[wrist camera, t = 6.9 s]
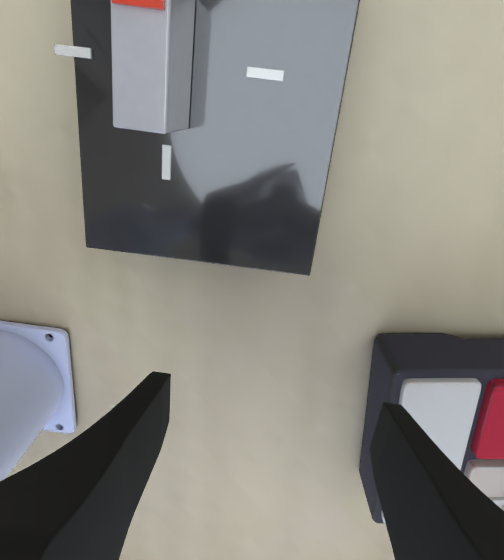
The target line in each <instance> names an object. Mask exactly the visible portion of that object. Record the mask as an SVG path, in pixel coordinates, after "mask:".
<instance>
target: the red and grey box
mask: <svg viewBox="0 0 504 560" xmlns="http://www.w3.org/2000/svg"><path fill="white" fill-rule="evenodd" d="M383 402H386V403H394V404H401V405H402V406H403V407H404V408H405V409H406V410H407V411H408V413H409V414H410V415H411V416H412V417H413V418H414V420H415V421H416V422H417V423H418V424H419V426H420V427H421V428H422V429H423V430H424V431H425V432H426V434H427V435H428V436H429V437H430V438H431V439H432V441H433V442H434V443H435V444H436V445H437V446H438V447H439V448H440V450H441V451H442V452H443V453H444V454H445V455H446V456H447V457H448V458H449V459H450V460H451V461H452V462H453V464H454V465H455V466H456V467H457V468H458V469H459V470H460V471H461V472H462V473H463V474H464V475H465V476H466V477H467V478H468V479H469V480H470V481H471V482H472V483H473V484H474V485H475V486H476V487H478V488H479V489H480V490H481V491H482V492H483V493H484V494H485V495H486V496H487V497H488V498H490V499H491V500H492V501H493V502H494V503H495V504H496V505H497V506H499V507H500V508H501V509H502V510H503V511H504V338H498V339H463V338H459V337H455V336H451V335H447V334H442V333H413V334H380V335H378V336H377V337H376V338H375V341H374V348H373V357H372V366H371V374H370V383H369V391H368V400H367V409H366V417H365V426H364V434H363V443H362V452H361V460H360V469H359V471H360V476H361V479H362V483H363V487H364V490H365V494H366V498H367V501H368V505H369V509H370V512H371V515H372V519H373V520H374V521H375V522H377V523H385V519H384V515H383V512H382V508H381V505H380V501H379V497H378V493H377V490H376V486H375V482H374V478H373V472H372V465H371V458H370V450H369V447H370V443H371V440H372V437H373V433H374V430H375V427H376V424H377V420H378V417H379V414H380V410H381V407H382V404H383ZM385 524H386V523H385Z"/></svg>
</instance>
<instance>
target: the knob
mask: <svg viewBox="0 0 504 560" xmlns="http://www.w3.org/2000/svg"><path fill="white" fill-rule="evenodd" d="M194 14H195V0H111V45H112V96H113V126H114V127H116V128H122V129H130V130H137V131H144V132H152V133H159V134H167V133H172V132H177V131H182V130H186V129H188V128H189V110H190V91H191V72H192V52H193V33H194Z"/></svg>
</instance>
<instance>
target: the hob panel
mask: <svg viewBox="0 0 504 560" xmlns="http://www.w3.org/2000/svg"><path fill="white" fill-rule="evenodd" d="M359 3H360V0H195V14H194V33H193V52H192V72H191V91H190V110H189V128H188V129H186V130H182V131H177V132H172V133H167V134H159V133H152V132H144V131H137V130H130V129H122V128H116V127H114V126H113V96H112V45H111V0H71V14H72V30H73V46H69V45H60V44H54V46H55V55H61V56H70V57H74V61H75V77H76V93H77V109H78V125H79V141H80V156H81V172H82V188H83V204H84V220H85V236H86V247H89V248H97V249H105V250H113V251H121V252H128V253H136V254H144V255H152V256H160V257H167V258H175V259H183V260H191V261H199V262H207V263H214V264H222V265H230V266H238V267H246V268H253V269H261V270H269V271H277V272H285V273H293V274H300V275H308V276H309V275H310V272H311V266H312V261H313V255H314V250H315V244H316V239H317V233H318V228H319V222H320V217H321V211H322V206H323V200H324V195H325V189H326V184H327V178H328V173H329V167H330V162H331V157H332V151H333V146H334V140H335V135H336V129H337V124H338V118H339V113H340V107H341V102H342V96H343V91H344V85H345V80H346V74H347V69H348V63H349V58H350V52H351V47H352V41H353V36H354V30H355V25H356V19H357V14H358V8H359Z"/></svg>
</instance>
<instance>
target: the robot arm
mask: <svg viewBox="0 0 504 560" xmlns="http://www.w3.org/2000/svg"><path fill="white" fill-rule="evenodd" d="M49 334H51V335H52V336H53V338H52V337H50V336H49ZM170 378H171V374H168V373H160V372H152V373H150V374H149V375H148V376H147V377H146V378H145V379H144V380H143V381H142V382H141V383H140V384H139V385H138V386H137V387H136V388H135V389H134V390H133V391H132V392H131V393H129V394H128V395H127V396H126V397H125V398H124V399H123V400H122V401H121V402H120V403H118V404H117V405H116V406H115V407H114V408H113V409H112V410H111V411H109V412H108V413H107V414H106V415H105V416H103V417H102V418H101V419H100V420H98V421H97V422H96V423H95V424H93V425H92V426H91V427H90V428H88V429H87V430H86V431H84V432H83V433H82V434H80V435H79V436H77V437H76V438H75V439H73V440H72V441H70V442H69V443H67V444H66V445H64V446H63V447H61V448H60V449H58V450H56V451H55V452H53V453H52V454H50V455H48V456H46V457H45V458H43V459H41V460H40V461H38V462H36V463H35V464H33V465H31V466H29V467H27V468H25V469H24V470H22V471H20V472H18V473H16V474H14V475H12V476H10V477H8V478H6V477H7V476H8V475H9V473H10V472H11V471H12V469H13V468H14V467H15V465H16V464H17V463H18V461H19V460H20V459H21V457H22V456H23V455H24V453H25V452H26V451H27V449H28V448H29V447H30V445H31V444H32V443H33V441H34V440H35V439H36V437H37V436H38V435H39V433H40V432H41V431H42V430H47V431H54V432H61V433H73V432H74V430H75V429H76V427H77V423H76V412H75V401H74V390H73V379H72V368H71V357H70V346H69V336H68V334H67V332H66V331H64V330H63V329H60V328H52V327H44V326H37V325H29V324H22V323H14V322H7V321H0V560H119V557H120V554H121V550H122V547H123V544H124V541H125V538H126V535H127V532H128V528H129V526H130V523H131V520H132V518H133V515H134V512H135V510H136V507H137V505H138V503H139V500H140V498H141V496H142V493H143V491H144V488H145V486H146V484H147V481H148V479H149V477H150V474H151V472H152V469H153V467H154V465H155V462H156V460H157V457H158V455H159V453H160V450H161V447H162V444H163V441H164V437H165V434H166V430H167V427H168V423H169V411H170ZM369 450H370V458H371V465H372V472H373V478H374V482H375V486H376V490H377V493H378V497H379V501H380V505H381V508H382V512H383V515H384V519H385V523H386V526H387V530H388V534H389V537H390V541H391V545H392V548H393V552H394V557H395V560H504V511H503V510H502V509H501V508H500V507H499V506H497V505H496V504H495V503H494V502H493V501H492V500H491V499H490V498H488V497H487V496H486V495H485V494H484V493H483V492H482V491H481V490H480V489H479V488H478V487H476V486H475V485H474V484H473V483H472V482H471V481H470V480H469V479H468V478H467V477H466V476H465V475H464V474H463V473H462V472H461V471H460V470H459V469H458V468H457V467H456V466H455V465H454V464H453V462H452V461H451V460H450V459H449V458H448V457H447V456H446V455H445V454H444V453H443V452H442V451H441V450H440V448H439V447H438V446H437V445H436V444H435V443H434V442H433V441H432V439H431V438H430V437H429V436H428V435H427V434H426V432H425V431H424V430H423V429H422V428H421V427H420V426H419V424H418V423H417V422H416V421H415V420H414V418H413V417H412V416H411V415H410V414H409V413H408V411H407V410H406V409H405V408H404V407H403V406H402V405H401V404H394V403H386V402H383V404H382V407H381V410H380V414H379V417H378V420H377V424H376V427H375V430H374V433H373V437H372V440H371V443H370V447H369Z"/></svg>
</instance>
